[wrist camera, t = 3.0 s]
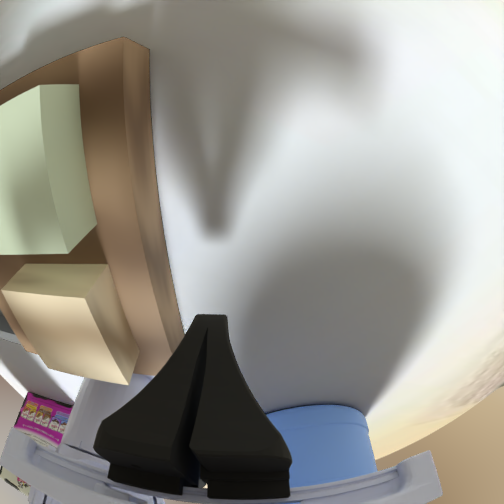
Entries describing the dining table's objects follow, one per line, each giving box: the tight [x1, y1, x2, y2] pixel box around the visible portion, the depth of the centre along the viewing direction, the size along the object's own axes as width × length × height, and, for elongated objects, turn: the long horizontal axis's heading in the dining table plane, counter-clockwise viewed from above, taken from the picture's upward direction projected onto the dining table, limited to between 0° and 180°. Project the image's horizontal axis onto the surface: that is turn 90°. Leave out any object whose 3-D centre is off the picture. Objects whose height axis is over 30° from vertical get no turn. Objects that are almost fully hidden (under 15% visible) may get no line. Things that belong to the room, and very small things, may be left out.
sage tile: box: [0, 84, 97, 255], centre depth 8 cm, size 6×6×2 cm
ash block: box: [1, 264, 140, 385], centre depth 12 cm, size 6×6×2 cm
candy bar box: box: [0, 392, 73, 496], centre depth 20 cm, size 11×5×16 cm, turn 92°
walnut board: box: [0, 37, 185, 376], centre depth 12 cm, size 18×14×3 cm
